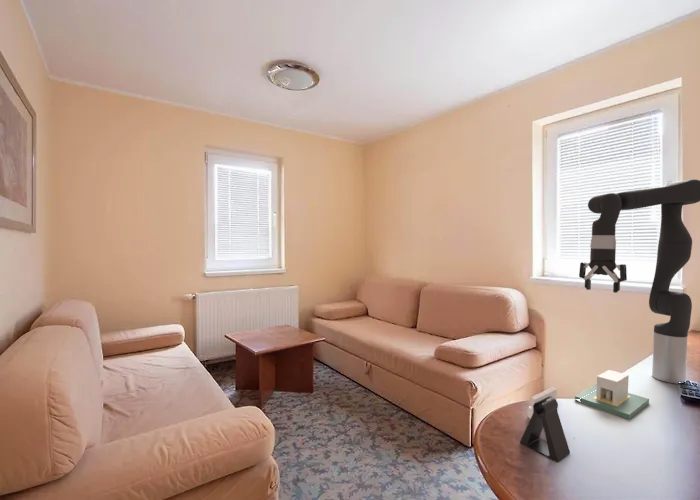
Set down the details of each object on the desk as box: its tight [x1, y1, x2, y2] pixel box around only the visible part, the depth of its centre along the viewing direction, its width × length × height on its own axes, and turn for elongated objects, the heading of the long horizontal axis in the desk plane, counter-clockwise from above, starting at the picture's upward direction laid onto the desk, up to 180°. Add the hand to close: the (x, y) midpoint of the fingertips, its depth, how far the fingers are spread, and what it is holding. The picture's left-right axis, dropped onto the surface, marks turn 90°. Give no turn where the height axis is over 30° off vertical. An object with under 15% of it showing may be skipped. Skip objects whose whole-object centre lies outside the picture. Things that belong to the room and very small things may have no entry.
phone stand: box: [519, 397, 571, 463], centre depth 83 cm, size 9×6×12 cm, turn 34°
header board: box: [574, 383, 650, 421], centre depth 108 cm, size 18×14×4 cm
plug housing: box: [596, 369, 630, 405], centre depth 108 cm, size 10×5×7 cm, turn 125°
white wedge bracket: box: [527, 386, 558, 420], centre depth 96 cm, size 4×10×9 cm, turn 84°
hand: (601, 290), depth 126 cm, fingers open, 8 cm apart
